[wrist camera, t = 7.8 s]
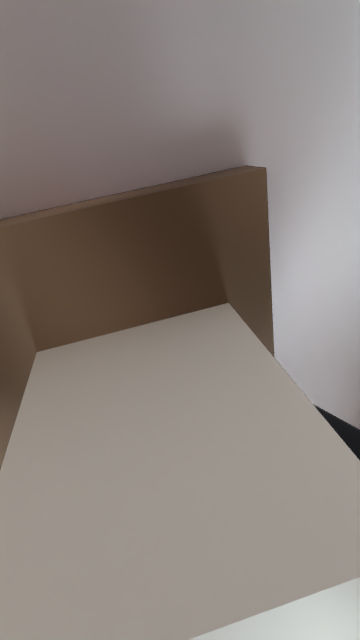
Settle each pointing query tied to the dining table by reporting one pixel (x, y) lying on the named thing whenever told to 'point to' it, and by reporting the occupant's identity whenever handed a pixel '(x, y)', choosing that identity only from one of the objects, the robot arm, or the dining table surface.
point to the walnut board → (130, 268)
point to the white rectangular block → (176, 494)
